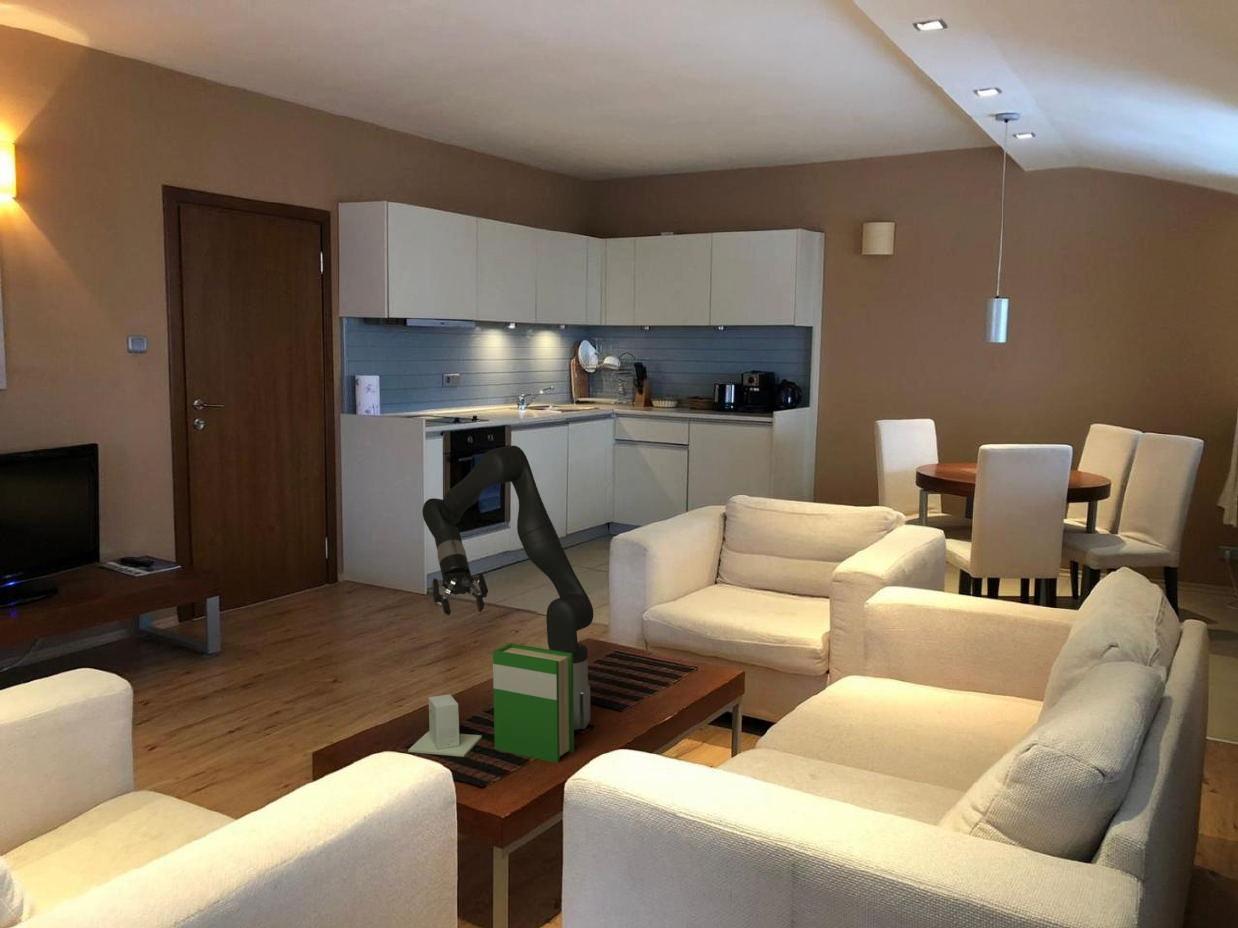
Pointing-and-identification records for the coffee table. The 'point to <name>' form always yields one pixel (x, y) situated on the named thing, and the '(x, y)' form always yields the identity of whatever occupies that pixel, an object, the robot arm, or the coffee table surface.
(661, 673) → the coffee table surface
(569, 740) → the hardback book
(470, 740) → the sage mat
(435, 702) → the small box
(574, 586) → the robot arm
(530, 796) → the coffee table surface
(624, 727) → the coffee table surface
